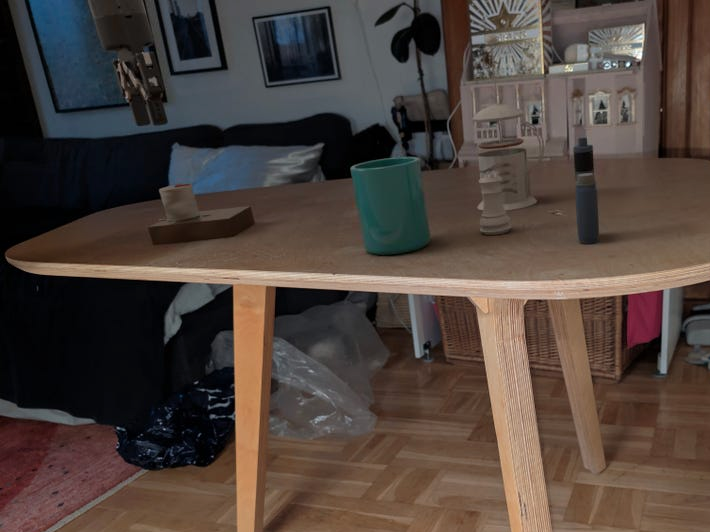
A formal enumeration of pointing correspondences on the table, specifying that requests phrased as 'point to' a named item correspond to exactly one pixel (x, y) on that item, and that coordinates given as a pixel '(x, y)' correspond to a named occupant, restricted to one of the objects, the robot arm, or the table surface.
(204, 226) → the panel
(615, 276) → the table surface
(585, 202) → the vaping device
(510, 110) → the french press
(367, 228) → the cup
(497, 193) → the rook chess piece
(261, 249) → the table surface
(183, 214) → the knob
